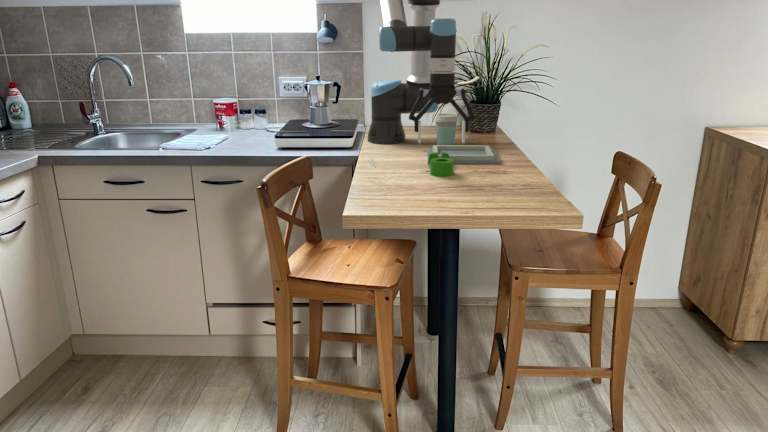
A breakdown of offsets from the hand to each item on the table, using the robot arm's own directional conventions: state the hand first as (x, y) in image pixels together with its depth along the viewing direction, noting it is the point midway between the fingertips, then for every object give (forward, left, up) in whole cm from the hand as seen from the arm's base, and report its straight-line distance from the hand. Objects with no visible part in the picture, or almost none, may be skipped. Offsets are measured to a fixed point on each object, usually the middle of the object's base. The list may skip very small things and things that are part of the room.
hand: (441, 142), depth 182 cm
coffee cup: (+3, +36, -9) cm, 38 cm away
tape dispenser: (0, 0, -10) cm, 10 cm away
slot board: (+8, +19, -9) cm, 23 cm away
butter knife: (-20, +2, -10) cm, 23 cm away
